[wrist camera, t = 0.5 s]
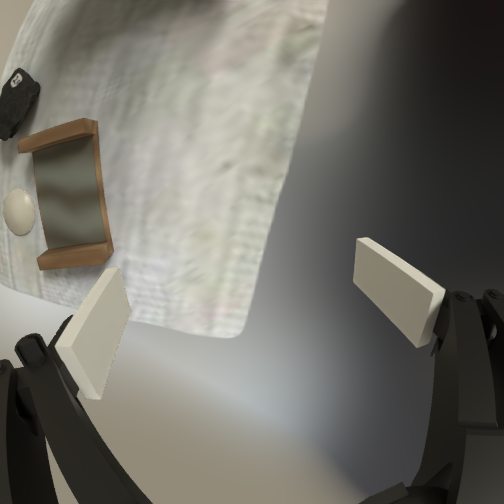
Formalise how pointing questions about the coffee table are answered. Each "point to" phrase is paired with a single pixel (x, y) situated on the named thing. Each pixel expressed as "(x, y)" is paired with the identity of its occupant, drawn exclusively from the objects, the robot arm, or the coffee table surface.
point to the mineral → (16, 102)
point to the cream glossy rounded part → (19, 211)
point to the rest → (70, 194)
